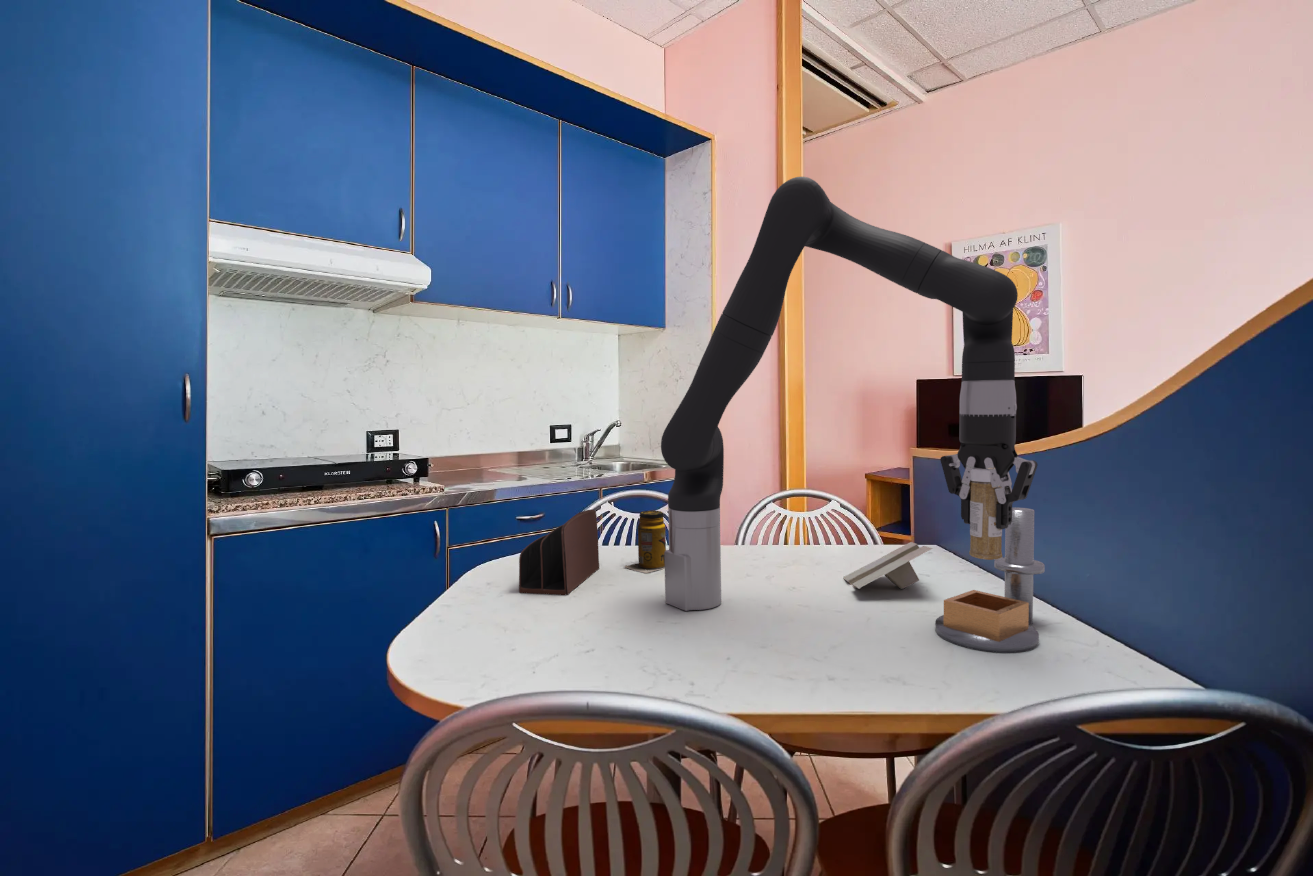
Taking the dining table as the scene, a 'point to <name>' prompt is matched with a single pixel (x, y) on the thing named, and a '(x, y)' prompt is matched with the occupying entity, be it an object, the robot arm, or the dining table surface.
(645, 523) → the condiment
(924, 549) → the tilted grey ramp
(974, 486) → the sprinkles bottle
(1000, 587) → the dining table surface
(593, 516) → the letter holder
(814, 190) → the robot arm
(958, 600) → the caddy stand
